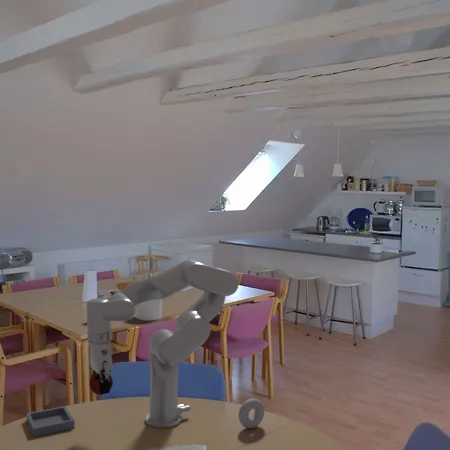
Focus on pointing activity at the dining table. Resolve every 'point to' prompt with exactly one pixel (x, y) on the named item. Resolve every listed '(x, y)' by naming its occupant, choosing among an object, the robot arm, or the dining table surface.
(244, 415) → the donut
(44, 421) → the tray
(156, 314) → the canister
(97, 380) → the apple
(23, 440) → the dining table surface
